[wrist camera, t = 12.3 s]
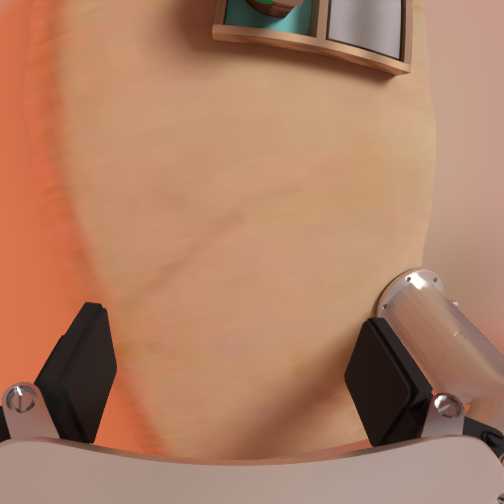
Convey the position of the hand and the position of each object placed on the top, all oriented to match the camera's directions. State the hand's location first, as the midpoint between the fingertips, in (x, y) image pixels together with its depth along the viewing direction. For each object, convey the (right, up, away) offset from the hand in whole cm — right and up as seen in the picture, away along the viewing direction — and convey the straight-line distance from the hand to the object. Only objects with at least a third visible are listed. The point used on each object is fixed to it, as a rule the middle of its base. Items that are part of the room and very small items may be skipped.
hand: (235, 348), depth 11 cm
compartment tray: (+8, +34, +17) cm, 39 cm away
